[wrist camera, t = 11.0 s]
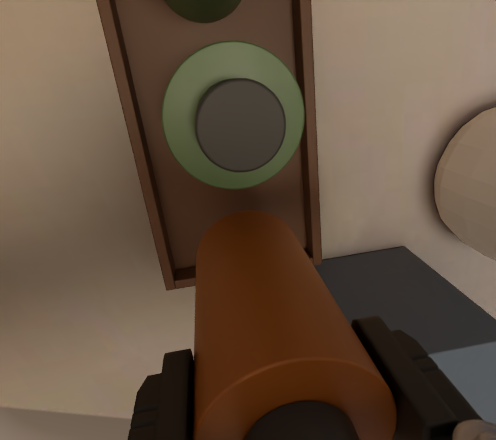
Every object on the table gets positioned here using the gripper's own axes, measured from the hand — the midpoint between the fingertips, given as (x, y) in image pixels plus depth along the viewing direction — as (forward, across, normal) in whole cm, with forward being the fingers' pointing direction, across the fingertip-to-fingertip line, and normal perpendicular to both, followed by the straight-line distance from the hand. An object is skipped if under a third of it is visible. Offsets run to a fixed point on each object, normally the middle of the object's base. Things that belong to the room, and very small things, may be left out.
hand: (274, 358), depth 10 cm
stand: (+14, -8, +9) cm, 18 cm away
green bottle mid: (+13, 0, -6) cm, 15 cm away
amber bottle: (+6, 0, 0) cm, 6 cm away
